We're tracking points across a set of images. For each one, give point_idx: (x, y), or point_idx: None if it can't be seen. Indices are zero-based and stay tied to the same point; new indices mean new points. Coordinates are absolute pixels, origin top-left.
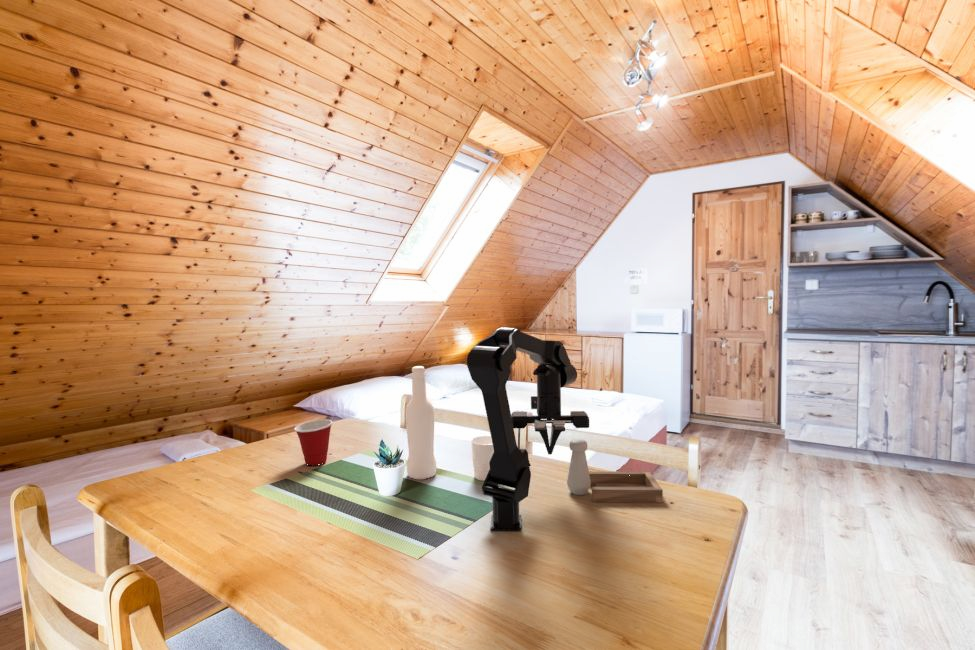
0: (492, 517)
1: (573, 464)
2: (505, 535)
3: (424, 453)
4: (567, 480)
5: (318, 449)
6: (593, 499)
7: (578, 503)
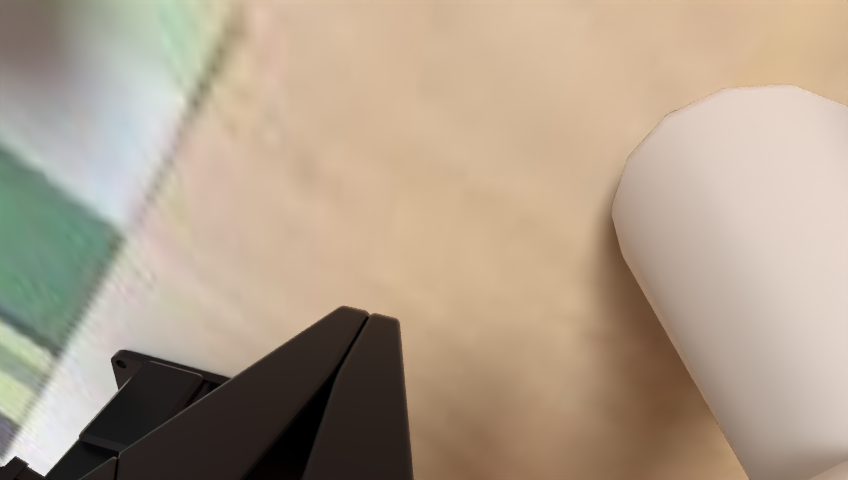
0: (119, 378)
1: (701, 393)
2: None
3: None
4: (624, 201)
5: None
6: None
7: (613, 332)
